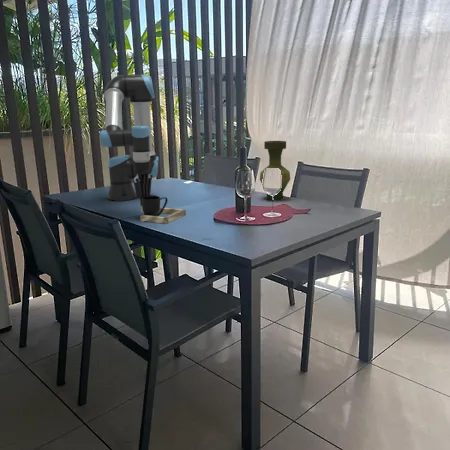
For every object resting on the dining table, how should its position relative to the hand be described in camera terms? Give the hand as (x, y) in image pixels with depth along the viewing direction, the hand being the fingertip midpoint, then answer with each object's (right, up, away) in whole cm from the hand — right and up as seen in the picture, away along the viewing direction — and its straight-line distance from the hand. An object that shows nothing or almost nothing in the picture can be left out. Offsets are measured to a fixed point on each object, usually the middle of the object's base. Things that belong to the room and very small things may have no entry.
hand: (144, 212), depth 206 cm
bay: (+9, -2, -3) cm, 9 cm away
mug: (+5, -3, -2) cm, 6 cm away
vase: (+64, +8, +32) cm, 72 cm away
